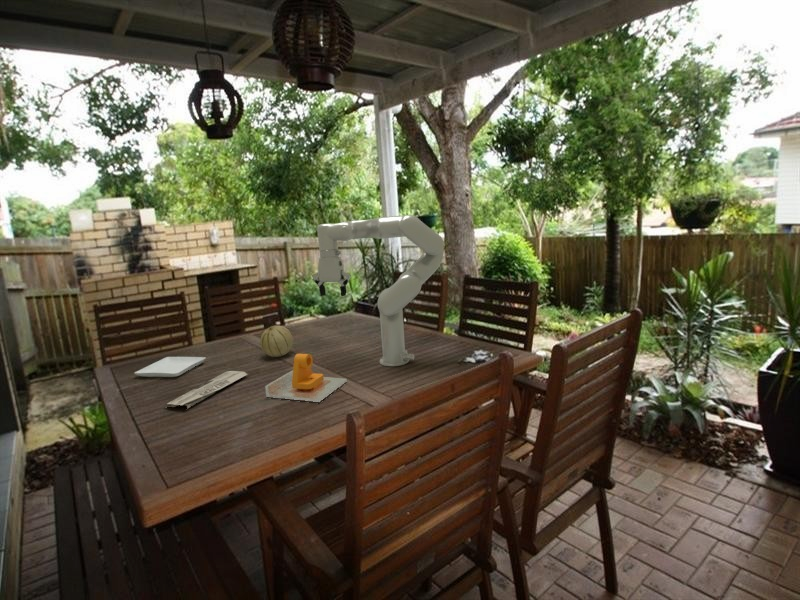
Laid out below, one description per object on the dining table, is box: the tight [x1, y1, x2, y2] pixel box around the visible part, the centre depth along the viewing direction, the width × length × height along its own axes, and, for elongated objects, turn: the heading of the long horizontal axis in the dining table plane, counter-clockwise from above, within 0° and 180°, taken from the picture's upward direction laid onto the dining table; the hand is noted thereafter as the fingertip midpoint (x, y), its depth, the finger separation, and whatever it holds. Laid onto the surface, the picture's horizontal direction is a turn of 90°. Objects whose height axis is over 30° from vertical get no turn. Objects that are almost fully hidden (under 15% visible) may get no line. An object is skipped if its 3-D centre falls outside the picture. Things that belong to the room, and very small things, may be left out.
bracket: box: [292, 353, 325, 389], centre depth 167 cm, size 11×7×12 cm, turn 160°
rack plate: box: [264, 369, 348, 402], centre depth 168 cm, size 22×20×4 cm
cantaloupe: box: [259, 325, 294, 358], centre depth 212 cm, size 15×15×15 cm
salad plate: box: [134, 356, 207, 378], centre depth 203 cm, size 21×21×3 cm
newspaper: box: [163, 370, 249, 410], centre depth 174 cm, size 35×12×4 cm, turn 164°
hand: (333, 295), depth 189 cm, fingers open, 9 cm apart
